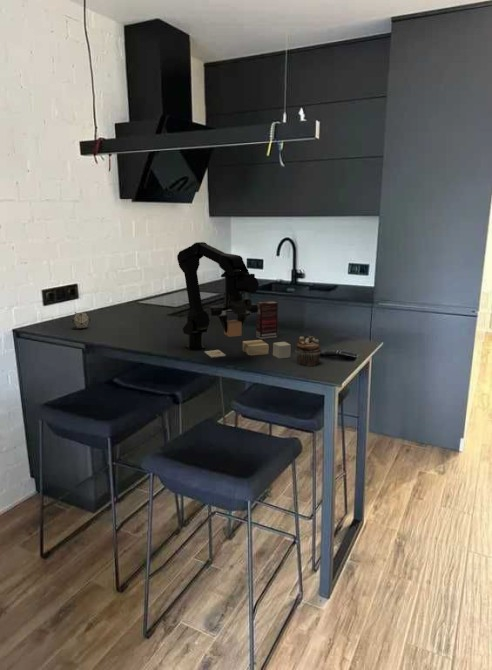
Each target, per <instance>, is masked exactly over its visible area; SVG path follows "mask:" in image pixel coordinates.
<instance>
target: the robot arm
mask: <svg viewBox="0 0 492 670" xmlns="http://www.w3.org/2000/svg"><path fill="white" fill-rule="evenodd" d="M203 257H204V258H206V259H209V260H211V261H213V262H214V263H216V264H217V265H219V266H218V267H219V268H220V269H221V270H222V271H223V273H222V274H221V275H220V278H224V292H223V296H224V303H223V307H221V306H219V305H218V304H215V305H207V307H206V310H205V309H204V308H203V305H202V297H201V296H202V295H201V292H200V291H201V290H200V284H199V278H198V277H199V276H198V270H199V267H200V260H201V259H202V258H203ZM176 258H177V259H176V260H177V263H178V267H179V268H180V270H181V271H182V272H183V274H184V279H185V285H186V292H187V299H188V300H187V301H188V304H189V305H188V306H189V311H188V314H187V315H186V316H187V317H186V318H187V319H186V320H187V322H186V323H185V325H184V326H183V328H182V332H183V334H185V335H188V342H187V344H185V347H186V348H187V349H189V351H193V350H194V351H195V350H202V349H203V350H204V349H206V346H205V345H203V334H204V333H208V328H209V325H210V321H211V320H210V316H212V317H218V319H219V321H220V324H221V326H222V328H223V332H224V331H225V332H226V333H227V321H228V315H227V313H230V312H231V313H232V312H233V314H235V315H237V320H238V321H240V322H242V326H243V325H244V322H245V320H246V319H247V317H248V316H251V314H254V313H255V314H256V313H257V312H258V306H257V305H256V303H253V302H252V299H251V298H246V299H243V294H242V293H248V294H255V293H256V292H258V289H259V287H260V284H259V281H258V279H257V278H256V277H255V276H256V275H255V273H250V272H249V270H248V269H249V268H248V267H247V266H246V264H245V262H244V259H243V257H242V256H241V255H239V254H234V253H226V252H223V251H222V250H220V249H217V248H215V247H213V246H212V245H210V244H208V243H207V242H205V241H201V242H199V241H198V242H194V243H193V244H192V245H190V246H188V247H186V248H184V249H182V250H180V251H179V252H178V254H177V255H176Z"/></svg>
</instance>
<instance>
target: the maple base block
mask: <svg viewBox="0 0 492 670" xmlns="http://www.w3.org/2000/svg"><path fill="white" fill-rule="evenodd" d="M242 351H243V352H244V353H245V352H246V353H245V354H246V355H248V356H249V355H250V356H260V355H269V344H268V343H267V342H265V341H263V339H254V340H243V341H242Z"/></svg>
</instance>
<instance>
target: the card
mask: <svg viewBox="0 0 492 670" xmlns="http://www.w3.org/2000/svg"><path fill="white" fill-rule="evenodd" d="M203 353H204V354H206V355H207V356H208V357H210V358H220V357H226V356H227V355H226V353H224V352H223V351H221V350H220V349H215V350H205V351H204V352H203Z"/></svg>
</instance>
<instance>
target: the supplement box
mask: <svg viewBox="0 0 492 670" xmlns="http://www.w3.org/2000/svg"><path fill="white" fill-rule="evenodd" d="M255 304H256V305H257V306H258V312H257V313H255V314H256V315H255V317H256V321H255V322H256V325H255V326H256V328H255V329H256V330H255V332H256V333H255V334H256V335H255V336H256V338H258V340H264V339H272V338H273V339H274V338H278V302H277V301H274V300H271V301H269V300H268V301H257V302H256V303H255Z"/></svg>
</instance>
